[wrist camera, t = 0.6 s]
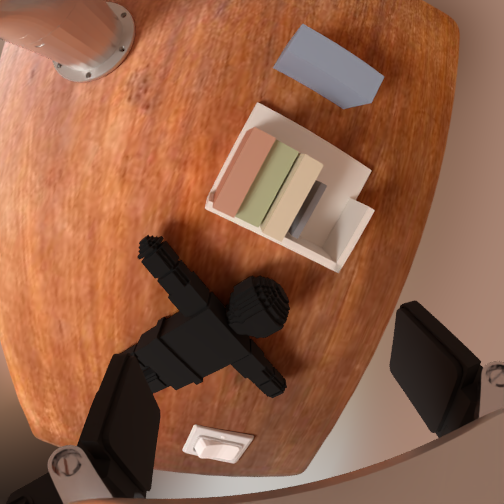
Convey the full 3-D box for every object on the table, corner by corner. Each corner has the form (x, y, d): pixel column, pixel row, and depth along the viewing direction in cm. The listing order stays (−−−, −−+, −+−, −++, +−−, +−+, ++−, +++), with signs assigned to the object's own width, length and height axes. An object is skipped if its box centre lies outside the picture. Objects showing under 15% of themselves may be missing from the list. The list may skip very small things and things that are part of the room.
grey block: (343, 109, 38) (371, 102, 30) (272, 67, 35) (286, 49, 27) (355, 86, 37) (384, 76, 29) (286, 45, 34) (302, 23, 26)
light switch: (192, 434, 51) (255, 447, 53) (194, 419, 55) (254, 433, 57) (180, 460, 54) (236, 472, 56) (182, 446, 58) (236, 458, 60)
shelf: (206, 198, 40) (203, 215, 30) (256, 103, 37) (269, 89, 27) (321, 254, 45) (348, 284, 35) (368, 169, 41) (408, 179, 31)
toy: (49, 321, 38) (205, 197, 32) (70, 296, 45) (211, 185, 40) (189, 443, 49) (340, 379, 43) (193, 413, 56) (329, 348, 50)
